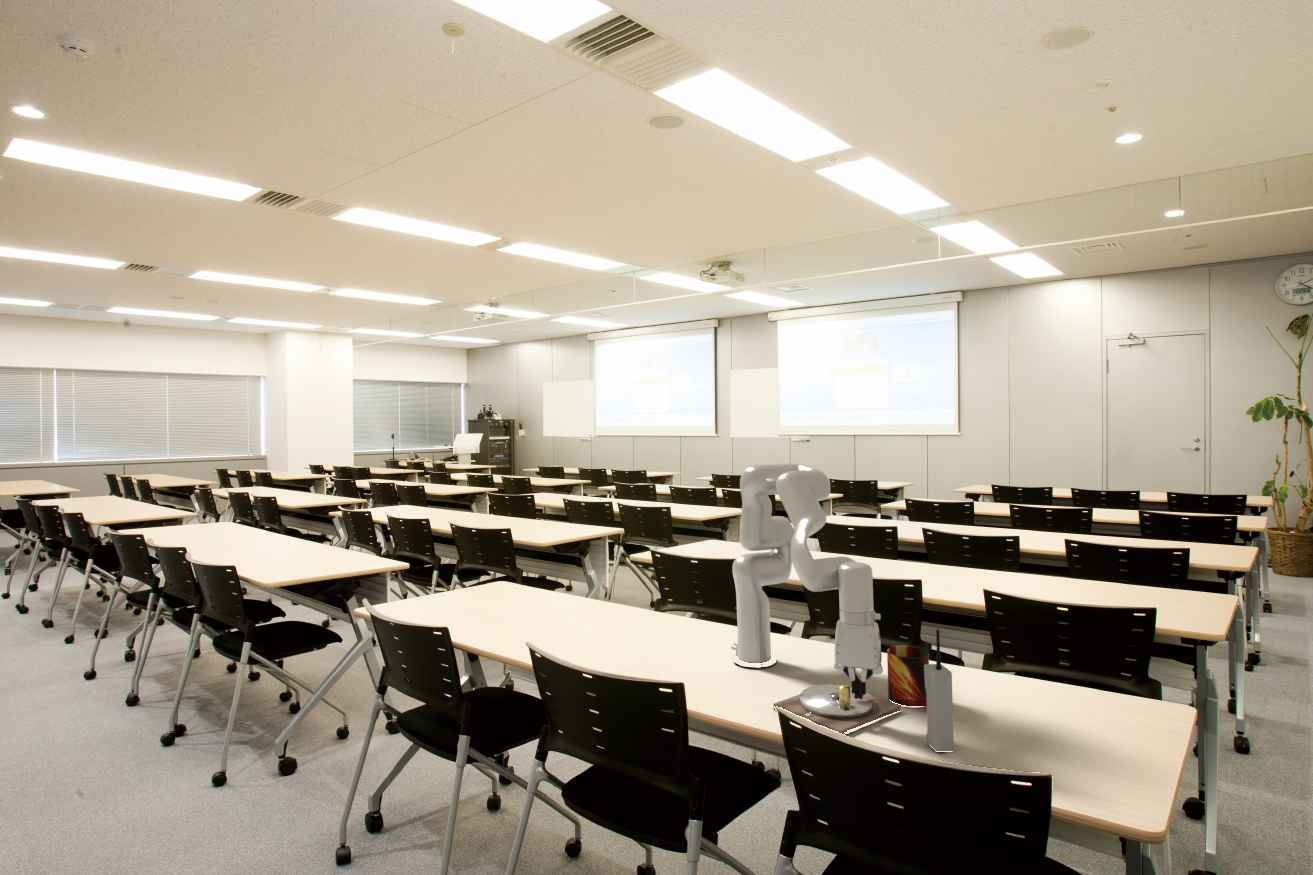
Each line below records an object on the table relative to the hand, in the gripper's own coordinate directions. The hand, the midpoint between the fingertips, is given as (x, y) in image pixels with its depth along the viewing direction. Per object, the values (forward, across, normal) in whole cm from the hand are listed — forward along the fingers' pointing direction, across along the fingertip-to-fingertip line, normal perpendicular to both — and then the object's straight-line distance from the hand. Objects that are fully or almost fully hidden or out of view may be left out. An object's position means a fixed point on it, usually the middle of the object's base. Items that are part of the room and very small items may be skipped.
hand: (859, 696), depth 157 cm
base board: (+6, +6, -4) cm, 9 cm away
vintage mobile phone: (+6, -17, +8) cm, 20 cm away
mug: (+6, -12, -16) cm, 21 cm away
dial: (+4, +6, -4) cm, 8 cm away
